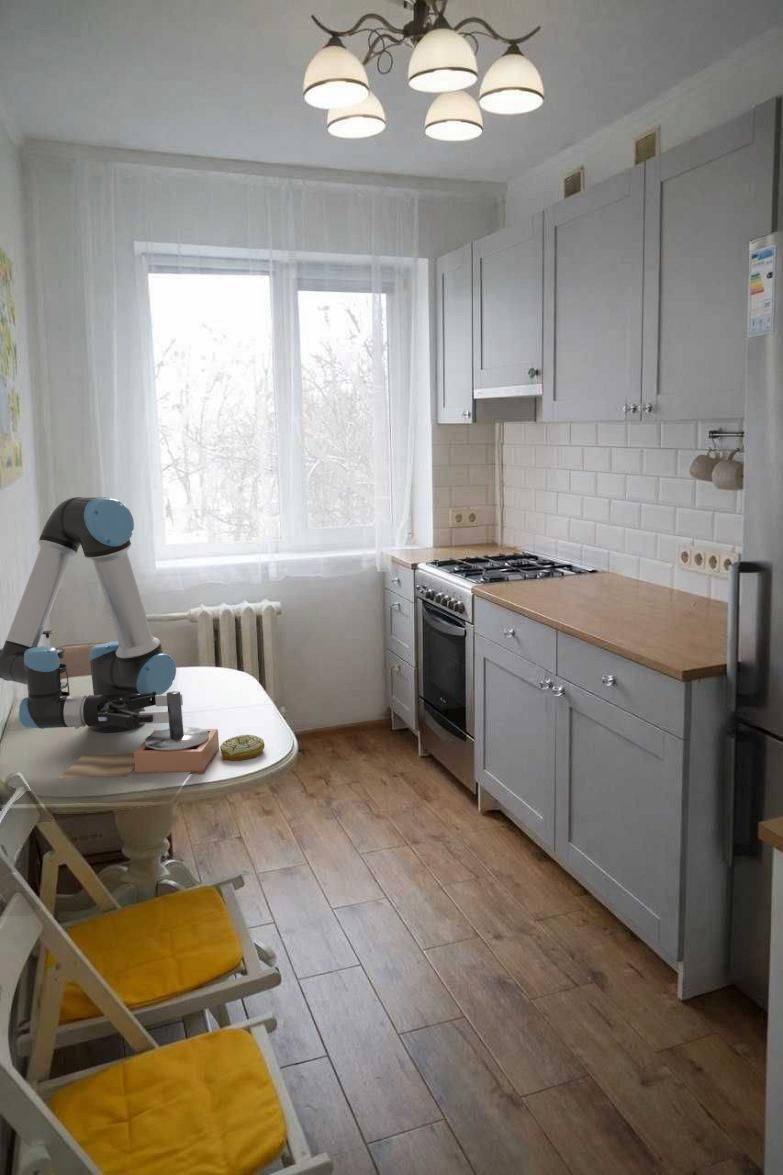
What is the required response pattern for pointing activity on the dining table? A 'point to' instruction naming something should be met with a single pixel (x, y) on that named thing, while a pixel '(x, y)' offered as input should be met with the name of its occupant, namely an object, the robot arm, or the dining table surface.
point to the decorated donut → (242, 747)
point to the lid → (176, 730)
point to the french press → (64, 667)
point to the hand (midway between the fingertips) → (175, 708)
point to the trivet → (101, 765)
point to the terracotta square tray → (178, 757)
